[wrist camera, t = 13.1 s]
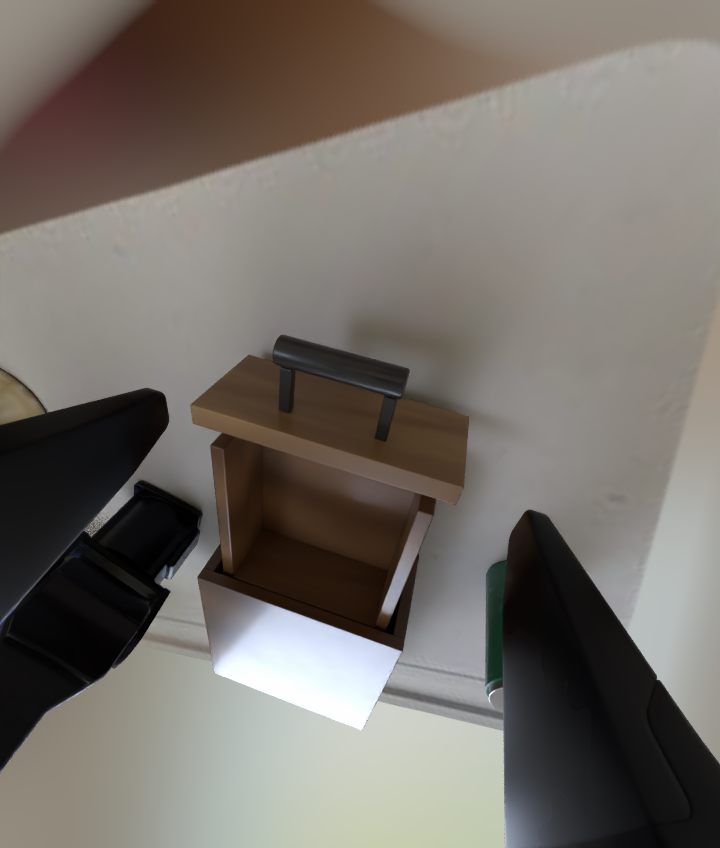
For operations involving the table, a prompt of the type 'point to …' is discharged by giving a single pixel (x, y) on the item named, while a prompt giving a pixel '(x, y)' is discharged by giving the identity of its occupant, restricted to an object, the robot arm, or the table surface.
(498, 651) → the can
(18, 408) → the hand bell
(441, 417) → the drawer
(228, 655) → the cabinet
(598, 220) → the table surface
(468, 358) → the table surface
